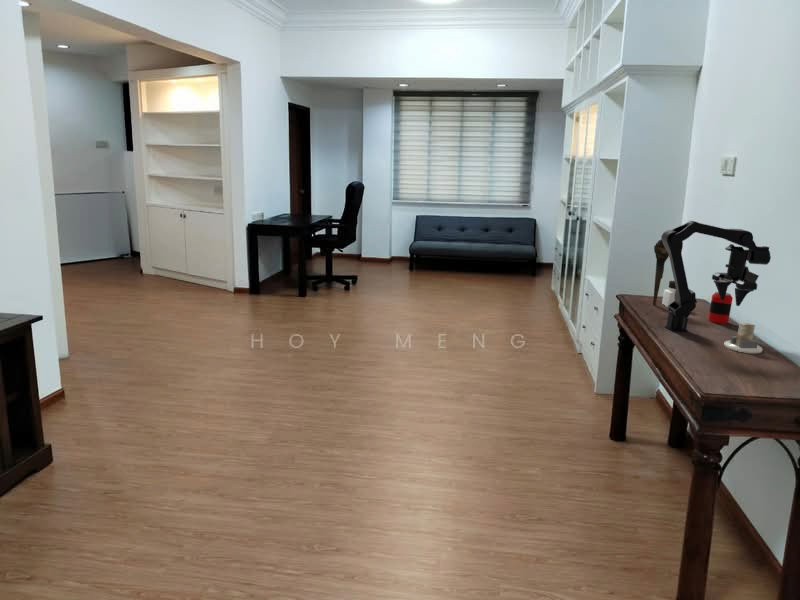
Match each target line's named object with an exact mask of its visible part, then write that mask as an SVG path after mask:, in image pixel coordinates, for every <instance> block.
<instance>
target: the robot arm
mask: <svg viewBox="0 0 800 600" xmlns="http://www.w3.org/2000/svg"><path fill="white" fill-rule="evenodd" d="M695 233H697V234H701V235H706V236H710V237H714V238H719V239H723V240H726V241H728V242H730V244H729V245H728V246H726V247H725V248H724V250H726V251H727V252H728V251H729V252H730V253H729V259H728V264H727V263H726V264H725V268H727V271H726V272H714V273H712V276H711V280H713V283H714V284H715V286H716V289H717V292H719V295H720V298H721V300H724V299H725V295H726V293H728V292H727V291H728V288H729V286H730V285H731V284H735V288H734V296H735V306H736V307H740V306H741V304H742V303H743V301H744V300H745V298H746V297H747V295H748V294H749V293H751V292H754V291H757V289H758V283H757V280H758V278H759V276H760V275H758V274H756V273H754V272H752V271H750V270H749V266H746V264H747V262H748V264H749V265H750V264H751V265H764V266H765V265H766V266H767V265H768V264H769V263H770V262H771V260H772V259H771V258H772V257H771V252H770V246H765V245H764V246H763V245H762V246H757V245H756V242H755V240H754V235H753V233H752V232H751V231H748V230H745V229H741V228H725V227H724V228H723V227H718V226H714V225H710V224H705V223H701V222H699V221H698V222H697V221H695V220H688V221H687V222H686V223H684V224H681V225H679V226H676V227H674V228H672V229H667V230H665V231H664V232H663V233H662V234H661V239H660V240H662V242H663V244H664V247H665V249H666V250H667V252H668V254H669V257H668V258H669V260H670V261H669V262H670V266H671V271H672V275H673V280H674V282H675V287H676V291H675V301H674V302H672V303H671V304H670V305H668V307H667V310H668V311H669V312H668V314H667V321H666V324H665V325H664V326H663V327H664V328H666V329H668V330H669V331H673V332H688V331H689V330H688V328H687V327H688V324H689V323H688V322H689V316H690V314H691V313H692V312H693V311H694V310H695V308H696V307H697V303H698V300H697V298H696V297H697V295H696V292H695V291H693V290H692V289H689V285H688V280H687V275H686V269H685V266H684V259H683V255H682V254H683V253H682V251H683V247H684V243H683V242H684V241H685V240H687V239H689V238H690V237H692V235H694V234H695ZM732 243H733V244H732ZM734 244H736V245H738V246H735V245H734ZM744 248H745V249H744Z"/></svg>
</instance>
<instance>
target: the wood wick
mask: <svg viewBox="0 0 800 600" xmlns="http://www.w3.org/2000/svg"><path fill="white" fill-rule="evenodd" d="M738 324H739V325H738V330H737V333H736V334H737V335H736V336H737V340H736V345H738V346H739V343H740V340H753V337H754V332H755V329H756V328H755V327H756V324H754V323H752V322H751V323H749V322H746V323H745V322H743V323H742V322H741V323H738Z"/></svg>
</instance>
